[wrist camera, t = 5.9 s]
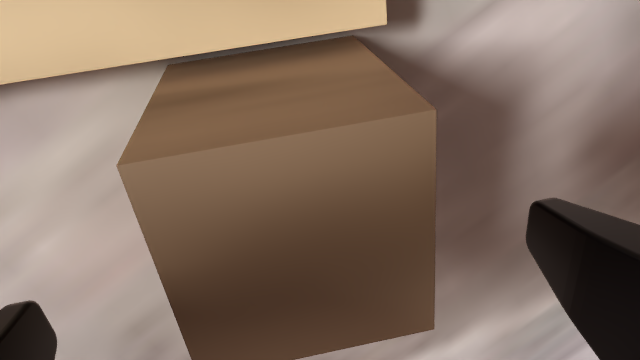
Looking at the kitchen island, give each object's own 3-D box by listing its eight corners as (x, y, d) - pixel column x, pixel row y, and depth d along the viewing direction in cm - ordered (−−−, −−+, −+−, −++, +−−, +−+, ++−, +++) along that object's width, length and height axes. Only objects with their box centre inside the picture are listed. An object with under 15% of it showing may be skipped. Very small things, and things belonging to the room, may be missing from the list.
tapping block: (365, 190, 15) (434, 328, 10) (212, 219, 14) (199, 380, 9) (352, 35, 12) (436, 109, 7) (168, 64, 12) (116, 165, 7)
